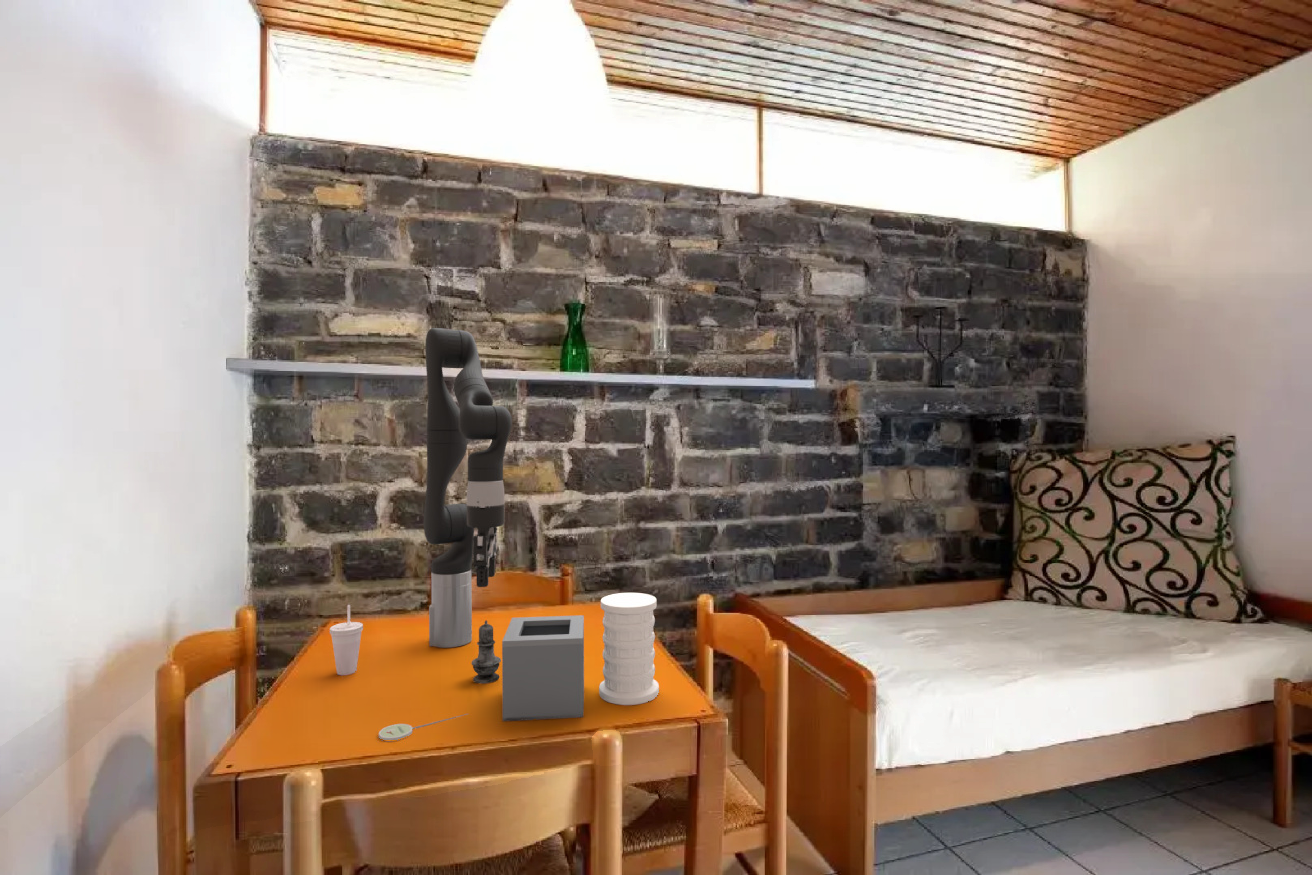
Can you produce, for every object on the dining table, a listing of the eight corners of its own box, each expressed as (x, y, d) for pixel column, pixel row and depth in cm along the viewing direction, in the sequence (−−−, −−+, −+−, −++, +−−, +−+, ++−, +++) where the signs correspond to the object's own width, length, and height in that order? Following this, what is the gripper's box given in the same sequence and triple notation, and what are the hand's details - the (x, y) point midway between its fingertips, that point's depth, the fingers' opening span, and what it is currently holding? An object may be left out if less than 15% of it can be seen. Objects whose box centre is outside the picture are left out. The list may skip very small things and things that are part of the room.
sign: (473, 717, 109) (382, 741, 101) (473, 722, 109) (382, 746, 101) (463, 707, 114) (375, 729, 105) (463, 712, 114) (375, 734, 105)
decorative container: (591, 686, 124) (591, 595, 124) (645, 676, 128) (645, 589, 128) (610, 709, 113) (610, 610, 113) (668, 698, 118) (668, 603, 117)
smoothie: (370, 668, 133) (369, 603, 133) (344, 679, 127) (343, 611, 127) (349, 664, 136) (348, 600, 136) (322, 674, 130) (322, 607, 130)
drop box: (502, 721, 108) (502, 641, 108) (512, 688, 122) (512, 617, 122) (583, 717, 110) (583, 638, 110) (583, 685, 124) (583, 615, 124)
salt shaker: (493, 685, 124) (492, 625, 124) (466, 682, 125) (465, 623, 125) (505, 673, 130) (505, 616, 130) (480, 671, 131) (479, 615, 131)
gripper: (473, 499, 134) (473, 574, 134) (459, 507, 120) (460, 590, 120) (508, 498, 135) (509, 573, 135) (499, 506, 121) (499, 589, 121)
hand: (486, 581), depth 128 cm, fingers open, 8 cm apart
